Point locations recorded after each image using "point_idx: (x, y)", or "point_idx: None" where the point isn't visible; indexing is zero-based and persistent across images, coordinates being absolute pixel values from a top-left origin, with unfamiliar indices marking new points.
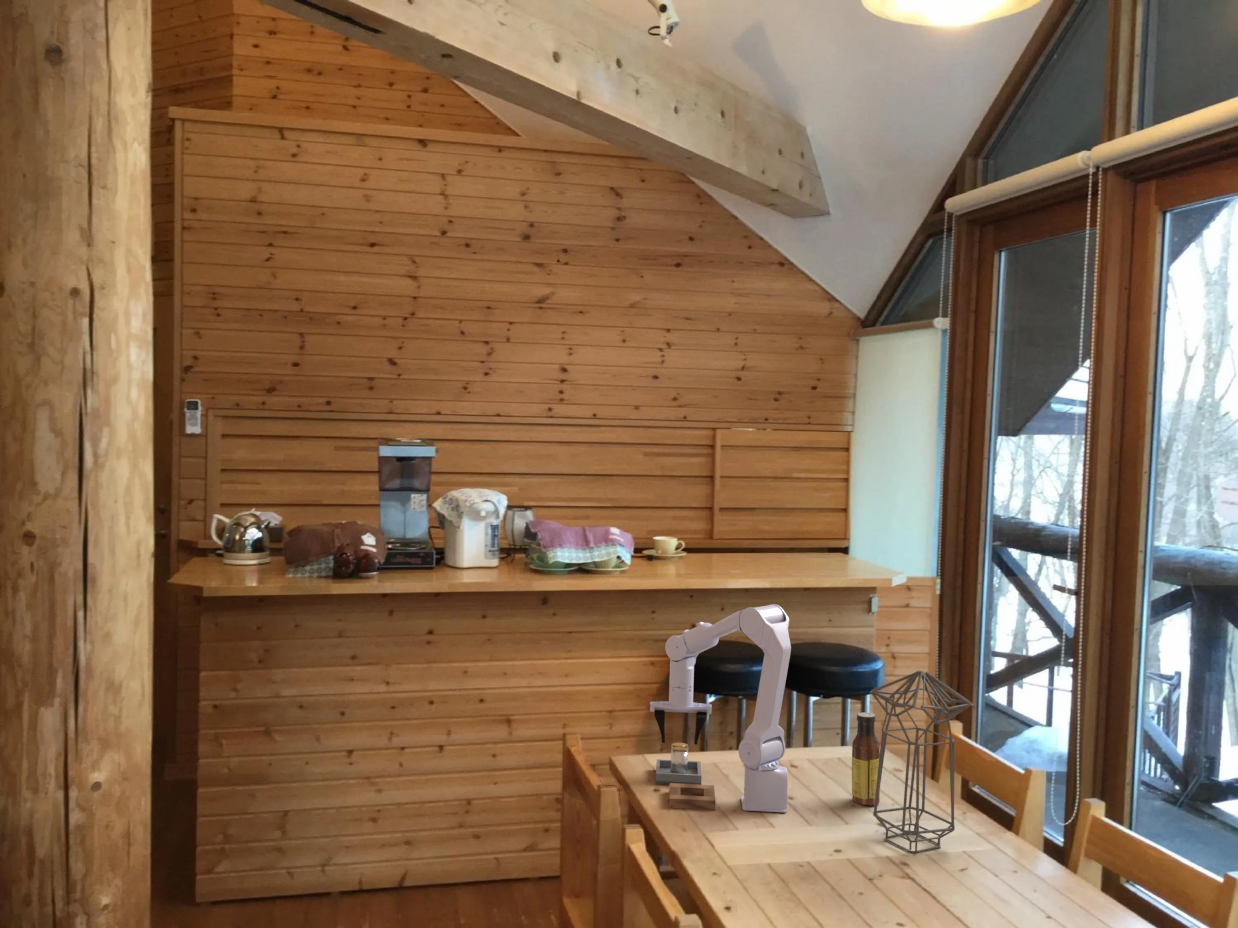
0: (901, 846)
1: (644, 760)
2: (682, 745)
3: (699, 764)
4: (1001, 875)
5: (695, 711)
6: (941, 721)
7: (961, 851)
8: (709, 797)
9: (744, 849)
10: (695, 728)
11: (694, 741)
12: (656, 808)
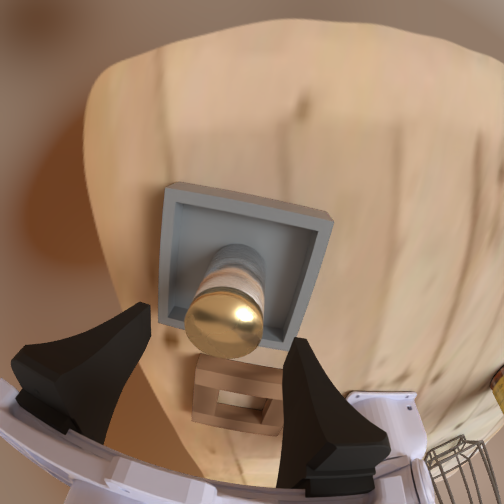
0: (426, 459)
1: (153, 90)
2: (233, 335)
3: (319, 256)
4: (444, 466)
5: (286, 501)
6: None
7: (460, 449)
8: (270, 427)
9: (274, 477)
10: (305, 378)
11: (287, 360)
12: (173, 406)
